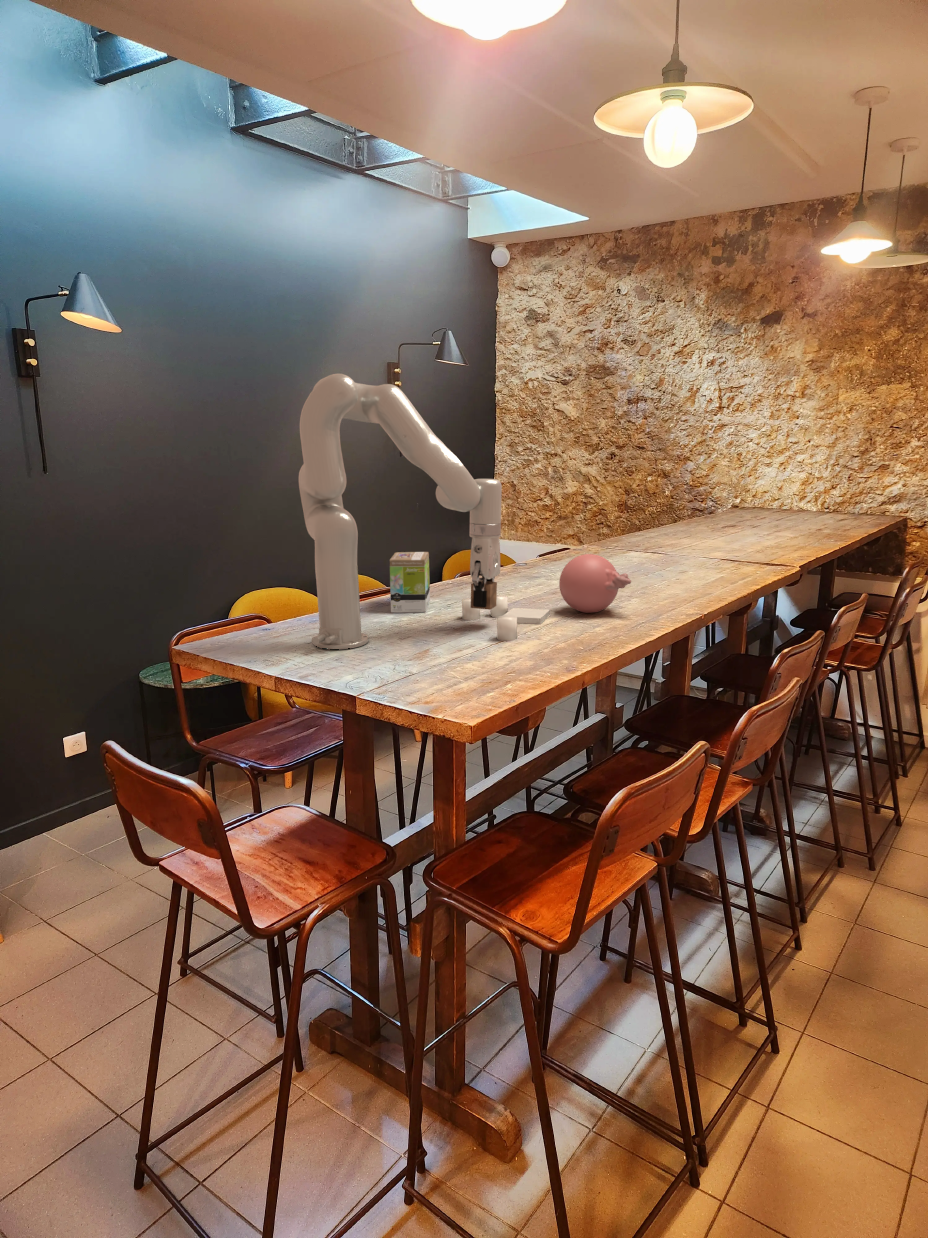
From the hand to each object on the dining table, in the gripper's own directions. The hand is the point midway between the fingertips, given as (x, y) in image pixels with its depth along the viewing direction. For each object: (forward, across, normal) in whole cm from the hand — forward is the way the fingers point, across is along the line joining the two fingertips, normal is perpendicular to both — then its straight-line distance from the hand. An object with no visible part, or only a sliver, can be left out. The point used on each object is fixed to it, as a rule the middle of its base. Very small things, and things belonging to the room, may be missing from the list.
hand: (483, 603), depth 194 cm
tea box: (+7, +17, +27) cm, 33 cm away
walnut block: (+1, 0, 0) cm, 1 cm away
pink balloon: (+5, +21, -24) cm, 32 cm away
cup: (+6, -9, -9) cm, 14 cm away
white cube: (+6, +8, +6) cm, 11 cm away
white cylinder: (+6, +13, 0) cm, 14 cm away
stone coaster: (+5, +11, -8) cm, 14 cm away
